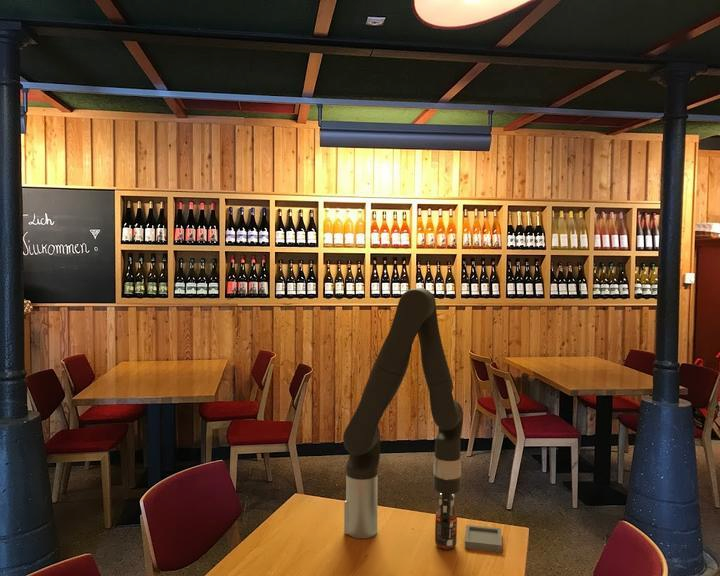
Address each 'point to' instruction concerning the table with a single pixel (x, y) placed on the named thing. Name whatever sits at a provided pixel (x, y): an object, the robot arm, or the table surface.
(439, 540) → the supplement bottle
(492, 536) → the gray square tray
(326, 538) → the table surface
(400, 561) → the table surface
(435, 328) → the robot arm
